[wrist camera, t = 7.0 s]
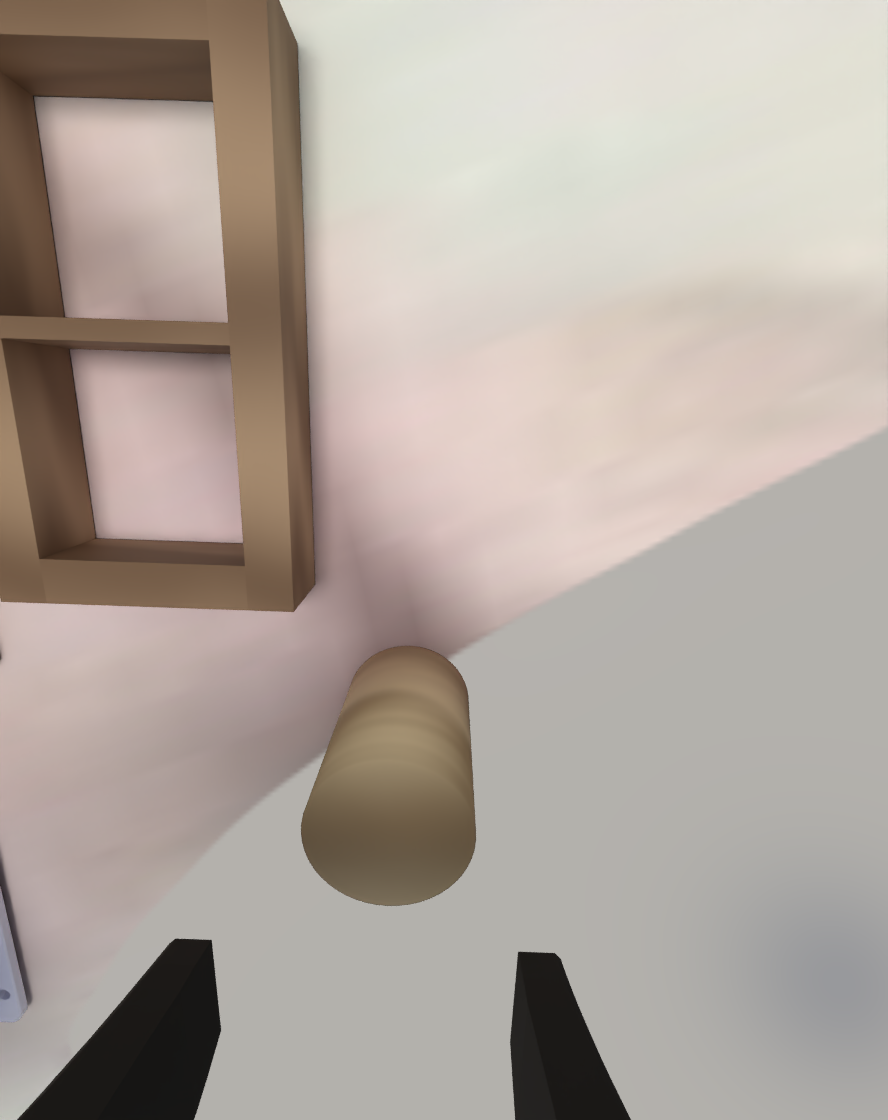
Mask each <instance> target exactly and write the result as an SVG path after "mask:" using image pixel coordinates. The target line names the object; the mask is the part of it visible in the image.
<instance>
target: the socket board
mask: <svg viewBox="0 0 888 1120" xmlns="http://www.w3.org/2000/svg"><path fill="white" fill-rule="evenodd" d="M33 96H64V97H97V98H130V99H163V100H197V101H213V107H214V121H215V136H216V151H217V165H218V180H219V194H220V209H221V224H222V238H223V253H224V268H225V282H226V297H227V312H228V323H216V322H185V321H154V320H123V319H92V318H64V311H63V304H62V297H61V290H60V283H59V276H58V269H57V262H56V255H55V248H54V241H53V234H52V227H51V220H50V213H49V206H48V199H47V192H46V185H45V178H44V171H43V164H42V157H41V150H40V143H39V136H38V129H37V122H36V115H35V108H34V101H33ZM69 349H94V350H124V351H155V352H186V353H217V354H230V355H231V370H232V385H233V399H234V414H235V429H236V443H237V458H238V473H239V487H240V502H241V517H242V531H243V544H241V543H212V542H183V541H154V540H125V539H96V536H95V529H94V522H93V515H92V508H91V501H90V494H89V487H88V480H87V473H86V466H85V459H84V452H83V445H82V438H81V431H80V424H79V417H78V410H77V403H76V396H75V389H74V382H73V375H72V368H71V361H70V354H69ZM314 585H315V567H314V537H313V507H312V476H311V446H310V415H309V385H308V354H307V324H306V294H305V263H304V233H303V202H302V172H301V142H300V111H299V81H298V50H297V41H296V39H295V37H294V34H293V32H292V30H291V27H290V25H289V23H288V20H287V18H286V16H285V13H284V11H283V8H282V6H281V4H280V1H279V0H0V598H1V602H26V603H54V604H83V605H112V606H140V607H169V608H197V609H226V610H254V611H283V612H294V611H295V610H296V608H297V607H298V606H299V604H300V603H301V602H302V601H303V599H304V598H305V597H306V596H307V594H308V593H309V592H310V590H311V589H312V588H313V587H314Z"/></svg>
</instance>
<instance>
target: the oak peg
mask: <svg viewBox="0 0 888 1120" xmlns="http://www.w3.org/2000/svg"><path fill="white" fill-rule="evenodd" d="M301 836H302V843H303V847H304V850H305V853H306V855H307V857H308V860H309V861H310V863H311V865H312V866H313V868H314V869H315V871H316V872H317V873H318V874H319V875H320V876H321V878H323V879H324V880H325V881H326V882H327V883H328V884H329V885H331V886H332V887H333V888H335V889H336V890H338V891H339V892H341V893H343V894H345V895H347V896H349V897H351V898H354V899H356V900H359V901H362V902H366V903H370V904H375V905H385V906H400V905H408V904H414V903H418V902H422V901H424V900H427V899H430V898H432V897H434V896H436V895H438V894H440V893H442V892H443V891H445V890H446V889H448V888H449V887H450V886H452V885H453V884H454V883H455V882H456V881H457V880H458V879H459V878H460V877H461V876H462V874H463V873H464V871H465V870H466V869H467V867H468V865H469V863H470V861H471V859H472V856H473V853H474V849H475V842H476V826H475V809H474V791H473V772H472V755H471V737H470V719H469V702H468V692H467V688H466V685H465V682H464V680H463V678H462V676H461V674H460V673H459V671H458V670H457V669H456V667H455V666H454V665H453V664H451V662H450V661H448V660H447V659H446V658H444V657H443V656H441V655H440V654H438V653H436V652H434V651H431V650H428V649H426V648H421V647H415V646H399V647H393V648H389V649H386V650H383V651H381V652H379V653H377V654H375V655H373V656H372V657H371V658H369V659H368V660H367V661H366V662H365V663H364V664H363V665H362V666H361V667H360V668H359V669H358V671H357V672H356V674H355V676H354V678H353V680H352V683H351V686H350V688H349V691H348V694H347V696H346V699H345V702H344V705H343V707H342V710H341V713H340V716H339V718H338V721H337V724H336V726H335V729H334V732H333V735H332V737H331V740H330V743H329V745H328V748H327V751H326V754H325V756H324V759H323V762H322V764H321V767H320V770H319V773H318V776H317V778H316V781H315V783H314V786H313V789H312V792H311V794H310V797H309V800H308V803H307V805H306V808H305V811H304V813H303V818H302V823H301Z"/></svg>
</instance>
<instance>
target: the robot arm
mask: <svg viewBox="0 0 888 1120" xmlns="http://www.w3.org/2000/svg"><path fill="white" fill-rule="evenodd" d="M27 1008H28V1004H27V1000H26V996H25V991H24V987H23V983H22V978H21V974H20V970H19V965H18V961H17V957H16V952H15V948H14V943H13V939H12V935H11V930H10V926H9V922H8V917H7V913H6V909H5V904H4V900H3V896H2V891H1V887H0V1022H15V1021H18V1020H20V1018H21V1017H22V1016H23V1014H24V1013H25V1011H26V1010H27ZM220 1032H221V1025H220V1016H219V1006H218V997H217V987H216V978H215V968H214V959H213V949H212V940H197V939H175V940H173V941H172V942H171V943H170V944H169V945H168V946H167V947H166V949H165V950H164V951H163V952H162V953H161V955H160V956H159V957H158V958H157V959H156V961H155V962H154V963H153V964H152V966H151V967H150V968H149V969H148V970H147V971H146V973H145V974H144V975H143V976H142V978H141V979H140V980H139V981H138V982H137V984H136V985H135V986H134V987H133V988H132V990H131V991H130V992H129V993H128V994H127V996H126V997H125V998H124V999H123V1000H122V1001H121V1003H120V1004H119V1005H118V1006H117V1007H116V1009H115V1010H114V1011H113V1012H112V1013H111V1014H110V1016H109V1017H108V1018H107V1019H106V1020H105V1021H104V1023H103V1024H102V1025H101V1026H100V1027H99V1028H98V1030H97V1031H96V1032H95V1033H94V1034H93V1035H92V1037H91V1038H90V1039H89V1040H88V1041H87V1043H86V1044H85V1045H84V1046H83V1047H82V1048H81V1049H80V1050H79V1051H78V1052H77V1054H76V1055H75V1056H74V1057H73V1058H72V1059H71V1060H70V1062H69V1063H68V1064H67V1065H66V1066H65V1067H64V1068H63V1069H62V1071H61V1072H60V1073H59V1074H58V1075H57V1076H56V1077H55V1078H54V1080H53V1081H52V1082H51V1083H50V1084H49V1085H48V1086H47V1088H46V1089H45V1090H44V1091H43V1092H42V1093H41V1094H40V1095H39V1096H38V1098H37V1099H36V1100H35V1101H34V1102H33V1103H32V1104H31V1105H30V1106H29V1107H28V1109H27V1110H26V1111H25V1112H24V1113H23V1114H22V1115H21V1116H20V1117H19V1118H18V1119H17V1120H194V1118H195V1115H196V1112H197V1109H198V1106H199V1102H200V1099H201V1096H202V1093H203V1090H204V1086H205V1083H206V1080H207V1076H208V1073H209V1070H210V1066H211V1063H212V1059H213V1056H214V1053H215V1049H216V1046H217V1042H218V1038H219V1035H220ZM510 1045H511V1060H512V1076H513V1092H514V1107H515V1120H631V1119H630V1117H629V1115H628V1113H627V1111H626V1109H625V1107H624V1105H623V1103H622V1101H621V1099H620V1097H619V1095H618V1093H617V1091H616V1088H615V1086H614V1085H613V1083H612V1080H611V1078H610V1076H609V1074H608V1072H607V1070H606V1068H605V1066H604V1063H603V1061H602V1059H601V1057H600V1055H599V1053H598V1050H597V1048H596V1046H595V1043H594V1041H593V1039H592V1037H591V1034H590V1032H589V1030H588V1027H587V1025H586V1023H585V1020H584V1018H583V1016H582V1013H581V1011H580V1009H579V1007H578V1004H577V1002H576V999H575V996H574V994H573V991H572V989H571V986H570V984H569V981H568V978H567V976H566V973H565V970H564V968H563V964H562V962H561V959H560V958H559V957H558V956H557V955H556V954H555V953H537V952H536V953H535V952H518V960H517V971H516V983H515V994H514V1005H513V1017H512V1028H511V1039H510Z"/></svg>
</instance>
